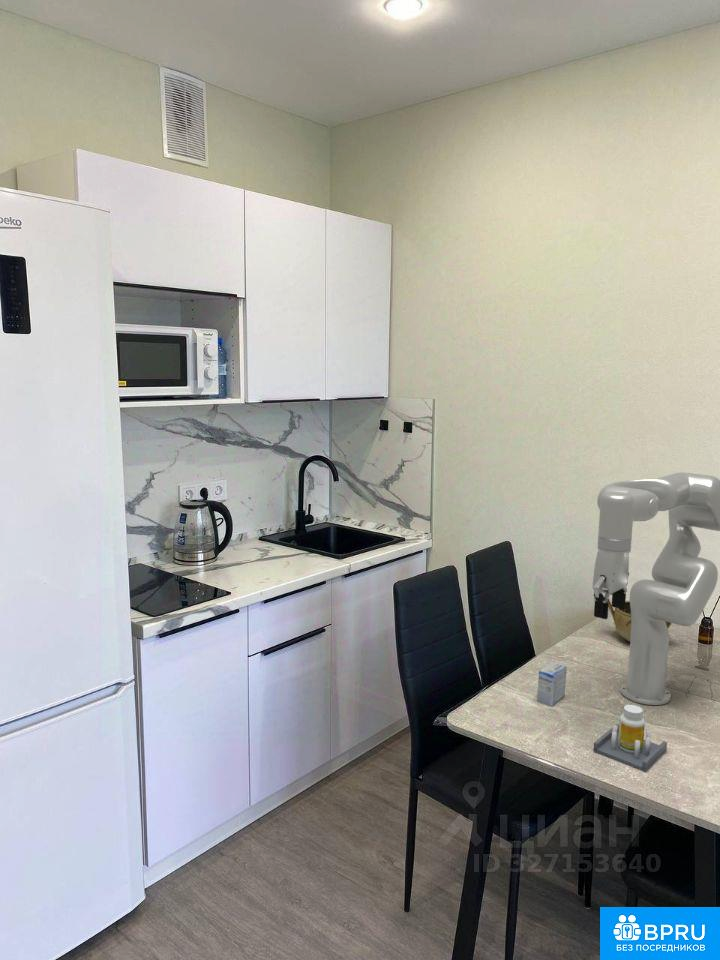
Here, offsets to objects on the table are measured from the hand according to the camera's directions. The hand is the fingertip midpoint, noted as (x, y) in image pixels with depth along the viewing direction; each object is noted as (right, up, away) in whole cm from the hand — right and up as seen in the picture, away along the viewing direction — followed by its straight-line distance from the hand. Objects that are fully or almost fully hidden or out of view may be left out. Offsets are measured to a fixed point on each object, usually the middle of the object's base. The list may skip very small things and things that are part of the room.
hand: (609, 612), depth 174 cm
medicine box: (-10, -26, +16) cm, 32 cm away
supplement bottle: (+2, -30, -9) cm, 31 cm away
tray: (+1, -30, -9) cm, 32 cm away
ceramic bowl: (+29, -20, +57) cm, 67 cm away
